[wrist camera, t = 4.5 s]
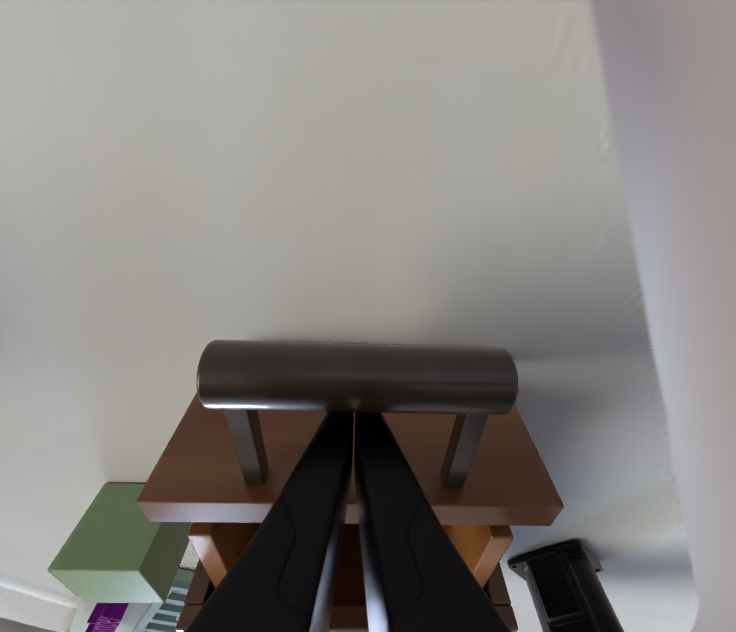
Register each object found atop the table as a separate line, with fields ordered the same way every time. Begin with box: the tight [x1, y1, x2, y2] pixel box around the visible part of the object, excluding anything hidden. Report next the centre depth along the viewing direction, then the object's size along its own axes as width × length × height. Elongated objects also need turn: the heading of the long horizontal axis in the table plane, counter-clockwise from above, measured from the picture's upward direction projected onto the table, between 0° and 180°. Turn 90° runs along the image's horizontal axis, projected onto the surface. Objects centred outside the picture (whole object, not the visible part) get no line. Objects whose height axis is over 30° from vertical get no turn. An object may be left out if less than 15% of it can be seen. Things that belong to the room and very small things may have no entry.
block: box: [47, 483, 192, 603], centre depth 22 cm, size 5×5×5 cm
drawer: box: [136, 340, 564, 605], centre depth 15 cm, size 18×12×7 cm
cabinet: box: [175, 559, 518, 632], centre depth 21 cm, size 15×14×9 cm
